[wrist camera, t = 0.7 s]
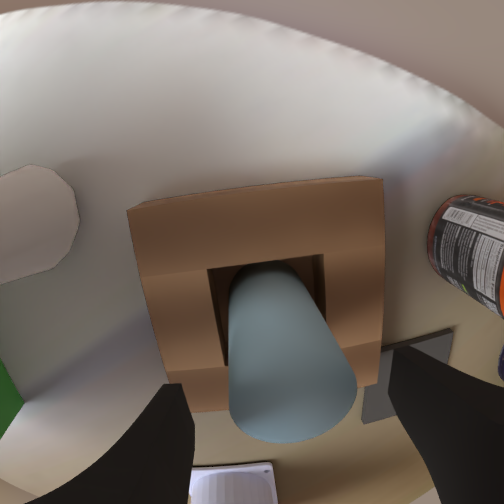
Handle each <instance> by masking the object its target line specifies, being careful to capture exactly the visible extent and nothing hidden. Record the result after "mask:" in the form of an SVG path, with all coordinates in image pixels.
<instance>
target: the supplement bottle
mask: <svg viewBox="0 0 504 504" xmlns="http://www.w3.org/2000/svg"><path fill="white" fill-rule="evenodd" d="M427 239H428V241H427V249H428V256H429V260H430V262H431V264H432V266H433V268H434V270H435V271H436V272H437V273H438V275H440V276H441V277H442V278H444V279H445V280H446V281H448V282H449V283H451V284H452V285H454V286H455V287H457V288H458V289H460V290H461V291H463V292H465V293H466V294H468V295H469V296H471V297H472V298H474V299H475V300H477V301H478V302H479V303H481V304H482V305H484V306H486V307H487V308H488V309H490V310H491V311H493V312H494V313H496V314H497V315H499V316H500V317H502V318H503V319H504V203H503V202H499V201H495V200H491V199H486V198H482V197H477V196H473V195H458V196H455V197H453V198H449V199H448V200H447V201H446V202H445V203H444V204H443V205H442V206H441V207H440V208H439V210H438V211H437V212H436V214H435V216H434V217H433V220H432V222H431V224H430V228H429V232H428V238H427Z"/></svg>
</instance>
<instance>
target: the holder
mask: <svg viewBox="0 0 504 504" xmlns="http://www.w3.org/2000/svg"><path fill="white" fill-rule="evenodd" d="M127 216H128V221H129V227H130V232H131V237H132V242H133V247H134V252H135V256H136V261H137V265H138V270H139V274H140V279H141V283H142V287H143V291H144V295H145V299H146V303H147V307H148V311H149V315H150V319H151V322H152V326H153V330H154V333H155V337H156V340H157V344H158V347H159V351H160V354H161V357H162V361H163V364H164V367H165V370H166V374H167V377H168V380H169V383H170V384H173V383H181V384H182V387H183V391H184V394H185V397H186V400H187V403H188V406H189V409H190V412H191V413H195V412H209V411H221V410H229V288H230V284H231V282H232V280H233V278H234V276H235V275H236V273H237V272H238V271H239V270H240V269H241V268H242V267H244V266H245V265H247V264H250V263H257V262H265V261H272V260H279V261H282V262H284V263H286V264H288V265H289V266H291V267H292V268H293V269H294V270H295V271H296V272H297V274H298V275H299V277H300V278H301V280H302V282H303V284H304V285H305V287H306V289H307V290H308V292H309V294H310V296H311V297H312V299H313V301H314V303H315V304H316V306H317V308H318V310H319V311H320V313H321V315H322V317H323V318H324V320H325V322H326V324H327V325H328V327H329V329H330V331H331V332H332V334H333V336H334V338H335V339H336V341H337V343H338V345H339V347H340V348H341V350H342V352H343V354H344V355H345V357H346V359H347V361H348V363H349V364H350V366H351V368H352V370H353V372H354V374H355V377H356V380H357V388H361V387H365V386H369V385H373V384H376V383H377V380H378V371H379V362H380V352H381V340H382V327H383V311H384V287H385V216H384V192H383V179H379V178H372V177H365V176H349V177H336V178H325V179H314V180H303V181H293V182H284V183H275V184H266V185H257V186H249V187H241V188H234V189H226V190H219V191H212V192H205V193H198V194H191V195H184V196H178V197H172V198H166V199H159V200H154V201H148V202H143V203H141V204H139V205H137V206H135V207H133V208H130V209H128V210H127Z"/></svg>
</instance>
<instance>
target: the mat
mask: <svg viewBox="0 0 504 504" xmlns="http://www.w3.org/2000/svg"><path fill="white" fill-rule="evenodd" d="M453 333H454V332H453V331H452V330H451V329H450V328H449V329H446V330H443V331H439V332H436V333H433V334H429V335H426V336H422V337H419V338H415V339H411V340H408V341H404V342H400V343H396V344H392V345H388V346H384V347H381V352H380V362H379V371H378V380H377V383H376V384H373V385H369V386H365V393H364V402H363V410H362V418H361V420H362V422H363V424H367V423H371V422H375V421H378V420H382V419H385V418H388V417H392V416H395V415H397V414H396V412H395V410H394V408H393V405H392V403H391V400H390V398H389V395H388V386H389V380H390V373H391V365H392V358H393V349H396V348H400V347H404V346H407V345H409V346H411V347H414V348H416V349H418V350H420V351H422V352H424V353H426V354H428V355H430V356H431V357H433V358H435V359H437V360H439V361H441V362H443V363H445V364H447V362H448V358H449V353H450V348H451V343H452V338H453Z"/></svg>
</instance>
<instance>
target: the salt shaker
mask: <svg viewBox="0 0 504 504" xmlns="http://www.w3.org/2000/svg"><path fill="white" fill-rule="evenodd" d="M79 223H80V217H79V213H78V208H77V204H76V199H75V194H74V190H73V189H72V188H71V187H70V186H69V185H68V184H67V183H66V182H65V181H64V180H63V179H62V178H61V177H60V176H59V175H57V174H56V173H55V172H54V171H53V170H51V169H48V168H44V167H40V166H36V165H32V164H29V165H26V166H24V167H22V168H19V169H17V170H14V171H12V172H10V173H7V174H5V175H3V176H1V177H0V285H1V284H4V283H7V282H11V281H14V280H17V279H20V278H23V277H27V276H30V275H33V274H36V273H40V272H43V271H46V270H50V269H53V268H54V267H55V266H56V265H57V264H58V263H59V262H60V261H61V260H62V259H63V258H64V257H65V256H66V255H67V254H68V253H69V251H70V249H71V247H72V244H73V241H74V238H75V236H76V233H77V231H78V227H79Z"/></svg>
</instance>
